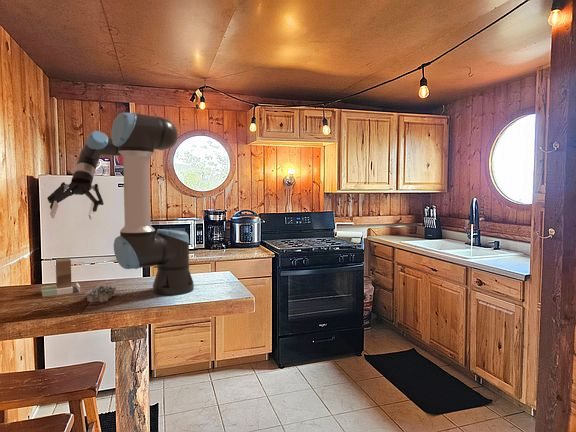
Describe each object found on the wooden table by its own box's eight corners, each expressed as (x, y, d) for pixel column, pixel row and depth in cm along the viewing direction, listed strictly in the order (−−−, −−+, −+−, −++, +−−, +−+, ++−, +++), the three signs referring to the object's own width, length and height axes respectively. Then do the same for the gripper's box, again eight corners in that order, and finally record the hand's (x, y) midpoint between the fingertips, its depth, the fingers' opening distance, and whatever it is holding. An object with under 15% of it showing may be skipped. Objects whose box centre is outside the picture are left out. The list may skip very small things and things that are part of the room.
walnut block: (71, 287, 146) (70, 260, 145) (57, 288, 144) (56, 261, 143) (70, 284, 150) (69, 258, 149) (56, 286, 147) (55, 259, 146)
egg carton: (105, 303, 135) (105, 291, 134) (83, 303, 135) (83, 291, 134) (118, 294, 145) (118, 283, 145) (97, 294, 145) (97, 283, 145)
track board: (80, 292, 147) (80, 286, 147) (42, 296, 140) (42, 291, 140) (77, 287, 153) (77, 282, 152) (41, 292, 146) (41, 287, 145)
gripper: (116, 183, 171) (107, 223, 158) (53, 180, 166) (38, 221, 153) (113, 171, 165) (103, 211, 152) (48, 168, 160) (32, 209, 148)
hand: (71, 216), depth 153 cm, fingers open, 13 cm apart
